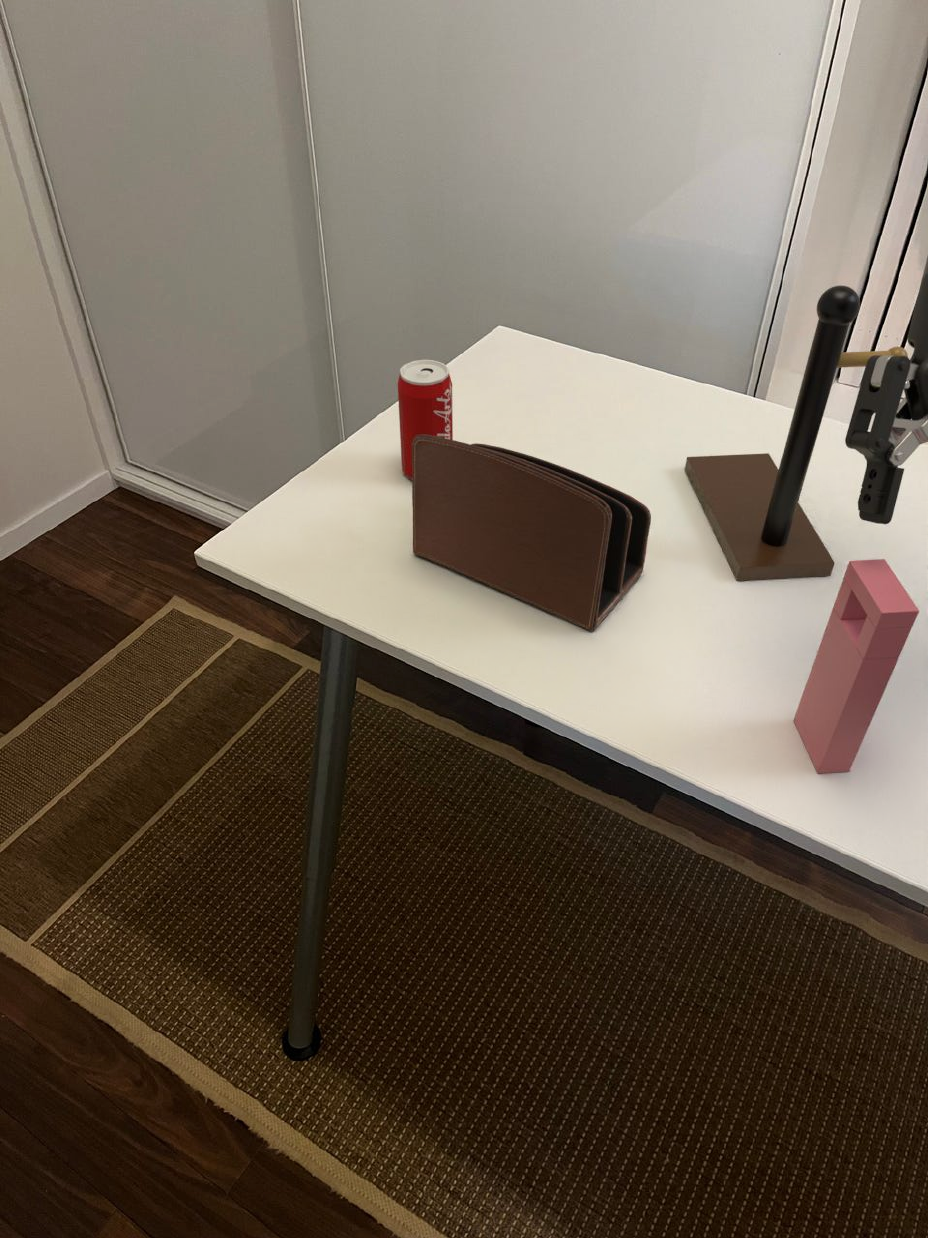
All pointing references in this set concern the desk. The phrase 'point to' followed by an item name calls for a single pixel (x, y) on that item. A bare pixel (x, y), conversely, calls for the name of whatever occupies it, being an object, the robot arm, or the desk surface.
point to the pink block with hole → (854, 663)
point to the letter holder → (527, 527)
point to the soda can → (423, 405)
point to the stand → (781, 467)
